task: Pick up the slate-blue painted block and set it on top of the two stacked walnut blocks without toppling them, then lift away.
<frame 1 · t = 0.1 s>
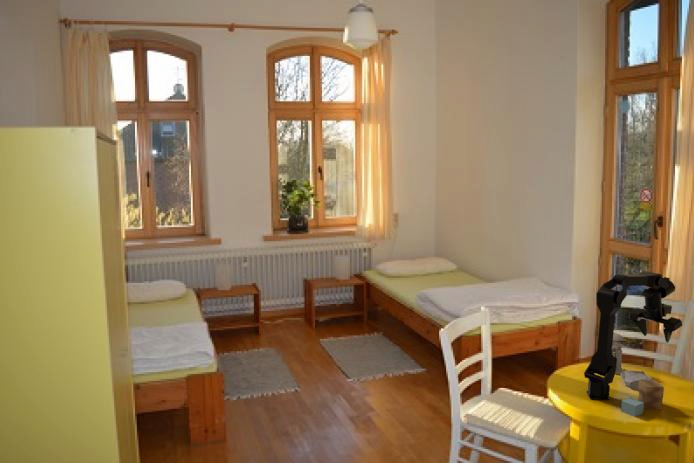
hand: (656, 338, 244), 15 cm above the table, tool pointing down, fingers open, 9 cm apart
stone block: (634, 384, 239), on the table
tower base: (649, 405, 221), on the table
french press: (611, 370, 253), on the table
slate block: (632, 412, 215), on the table
tower mid: (650, 394, 220), point 4 cm above the table
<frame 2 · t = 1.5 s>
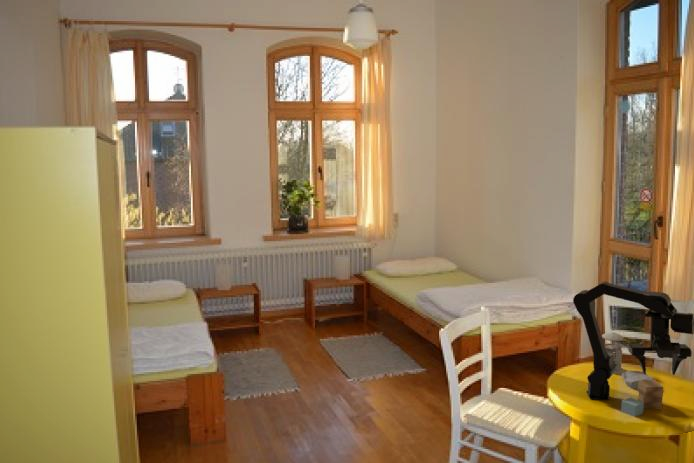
hand: (658, 374, 214), 13 cm above the table, tool pointing down, fingers open, 9 cm apart
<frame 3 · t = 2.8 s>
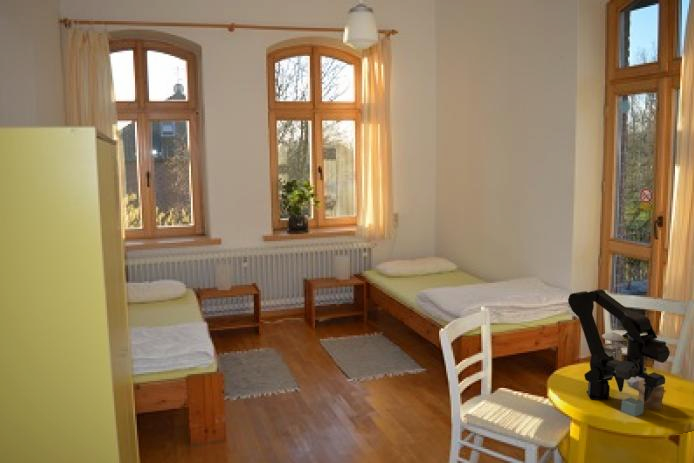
hand: (632, 396, 214), 6 cm above the table, tool pointing down, fingers open, 9 cm apart
tower base: (649, 405, 221), on the table, touching tower mid
tower mid: (650, 394, 220), point 4 cm above the table, touching tower base
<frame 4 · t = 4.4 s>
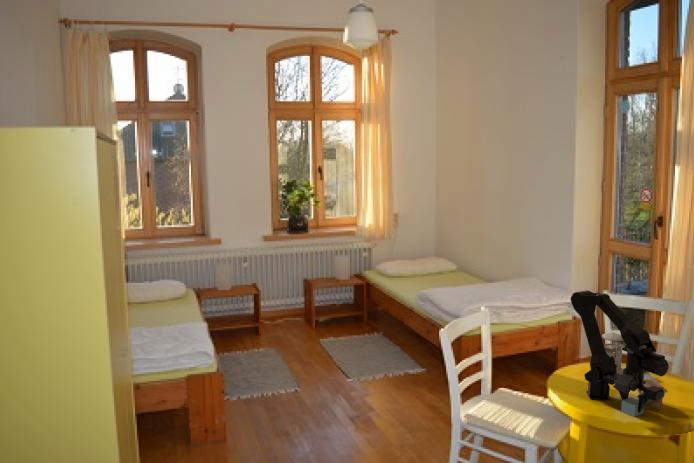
hand: (632, 409, 215), 1 cm above the table, tool pointing down, fingers closed on slate block, 5 cm apart
slate block: (632, 412, 215), on the table, touching gripper
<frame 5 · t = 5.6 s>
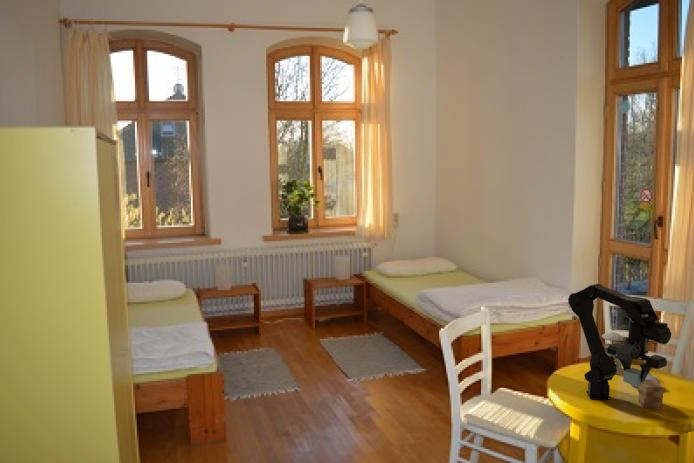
hand: (634, 379, 213), 12 cm above the table, tool pointing down, fingers closed on slate block, 5 cm apart
slate block: (634, 382, 213), point 11 cm above the table, touching gripper
when the fingers open (10 cm above the table, at t = 7.7 s): slate block drops 1 cm, resting on tower mid.
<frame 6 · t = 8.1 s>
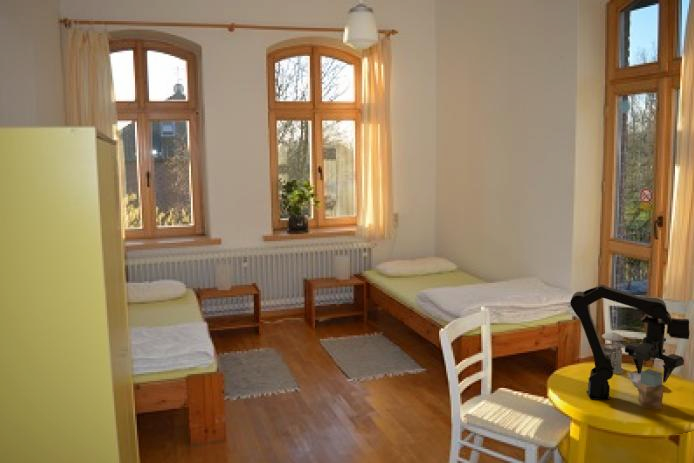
hand: (651, 377, 219), 10 cm above the table, tool pointing down, fingers open, 9 cm apart
slate block: (651, 383, 220), point 8 cm above the table, touching tower mid
tower mid: (650, 394, 220), point 4 cm above the table, touching slate block, tower base
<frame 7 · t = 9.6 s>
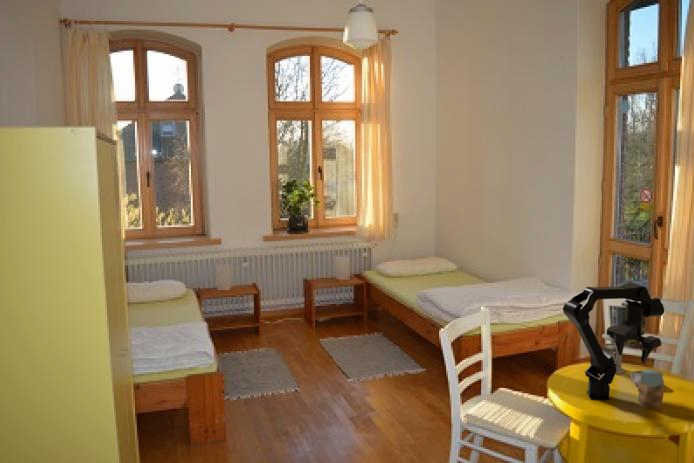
hand: (631, 358, 229), 13 cm above the table, tool pointing down, fingers open, 9 cm apart
slate block: (651, 383, 220), point 8 cm above the table
tower mid: (650, 394, 220), point 4 cm above the table, touching tower base
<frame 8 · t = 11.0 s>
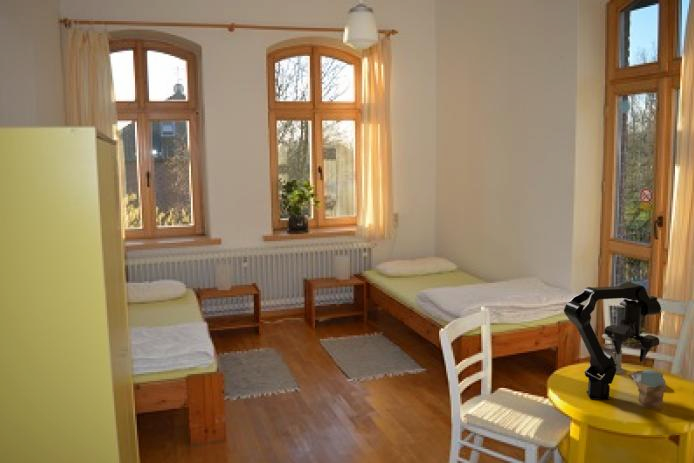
hand: (629, 357, 230), 13 cm above the table, tool pointing down, fingers open, 9 cm apart
slate block: (651, 383, 220), point 8 cm above the table, touching tower mid
tower mid: (650, 394, 220), point 4 cm above the table, touching slate block, tower base
at the end: slate block 0.1 cm off-centre on the tower mid, point 4.0 cm above the tower mid's base; tower mid tilted 0°; the gripper is holding nothing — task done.
